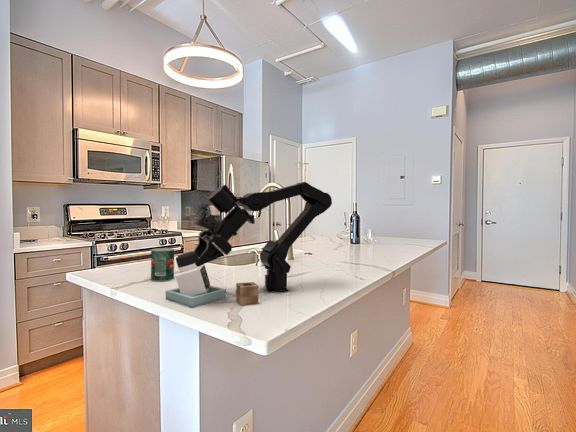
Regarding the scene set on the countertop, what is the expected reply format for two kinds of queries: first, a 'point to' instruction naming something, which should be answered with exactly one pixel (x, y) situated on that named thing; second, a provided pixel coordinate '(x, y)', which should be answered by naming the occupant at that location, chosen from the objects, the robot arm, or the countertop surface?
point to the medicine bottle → (191, 275)
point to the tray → (196, 297)
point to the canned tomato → (162, 264)
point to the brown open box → (247, 293)
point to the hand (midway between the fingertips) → (193, 262)
